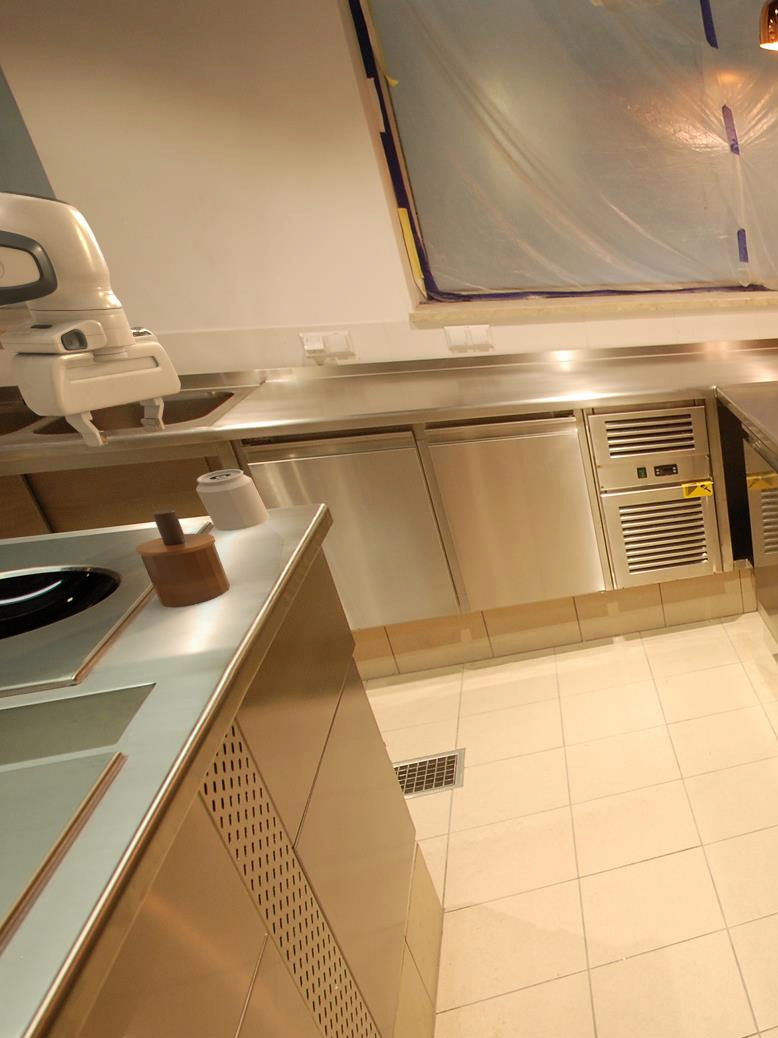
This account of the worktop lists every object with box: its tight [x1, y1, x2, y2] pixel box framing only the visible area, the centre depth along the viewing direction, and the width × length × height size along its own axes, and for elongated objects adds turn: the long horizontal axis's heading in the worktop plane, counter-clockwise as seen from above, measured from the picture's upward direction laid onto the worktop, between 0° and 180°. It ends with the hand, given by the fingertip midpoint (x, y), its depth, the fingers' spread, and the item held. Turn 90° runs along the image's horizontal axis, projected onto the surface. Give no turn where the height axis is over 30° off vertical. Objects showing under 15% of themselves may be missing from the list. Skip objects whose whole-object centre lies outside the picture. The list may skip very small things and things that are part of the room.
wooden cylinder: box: [140, 543, 231, 609], centre depth 119 cm, size 8×8×8 cm
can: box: [195, 468, 270, 532], centre depth 142 cm, size 8×8×12 cm
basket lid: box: [135, 508, 216, 557], centre depth 117 cm, size 8×8×6 cm
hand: (128, 438), depth 116 cm, fingers open, 8 cm apart
